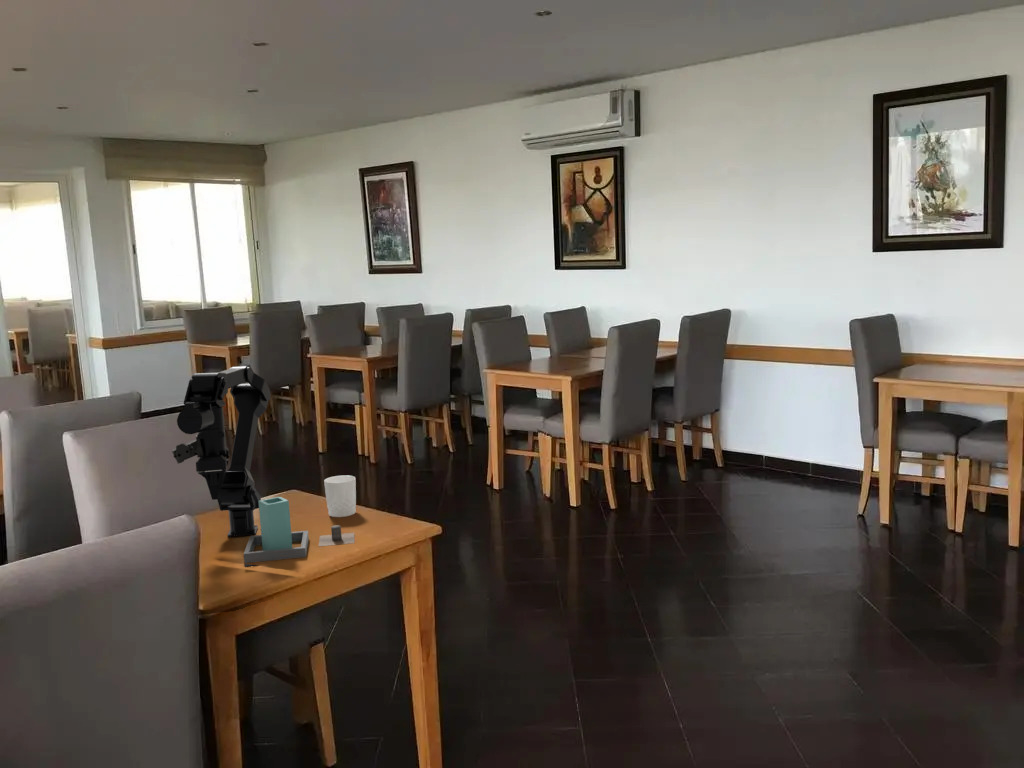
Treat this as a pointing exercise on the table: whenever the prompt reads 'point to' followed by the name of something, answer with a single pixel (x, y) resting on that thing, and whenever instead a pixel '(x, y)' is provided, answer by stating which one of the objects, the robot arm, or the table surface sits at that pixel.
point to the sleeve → (275, 523)
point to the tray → (277, 553)
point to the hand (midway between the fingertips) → (215, 495)
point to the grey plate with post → (336, 537)
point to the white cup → (341, 495)
